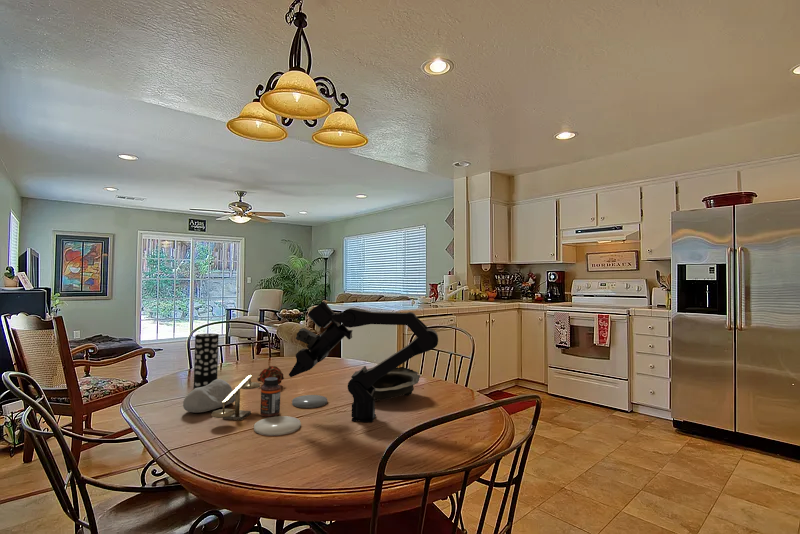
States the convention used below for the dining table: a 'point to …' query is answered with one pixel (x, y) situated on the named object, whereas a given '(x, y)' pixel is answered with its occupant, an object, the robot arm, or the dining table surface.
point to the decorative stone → (208, 397)
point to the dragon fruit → (271, 374)
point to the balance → (236, 402)
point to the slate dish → (309, 401)
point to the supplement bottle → (270, 397)
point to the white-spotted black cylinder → (205, 359)
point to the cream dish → (277, 425)
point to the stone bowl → (395, 383)
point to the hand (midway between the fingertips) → (294, 372)
